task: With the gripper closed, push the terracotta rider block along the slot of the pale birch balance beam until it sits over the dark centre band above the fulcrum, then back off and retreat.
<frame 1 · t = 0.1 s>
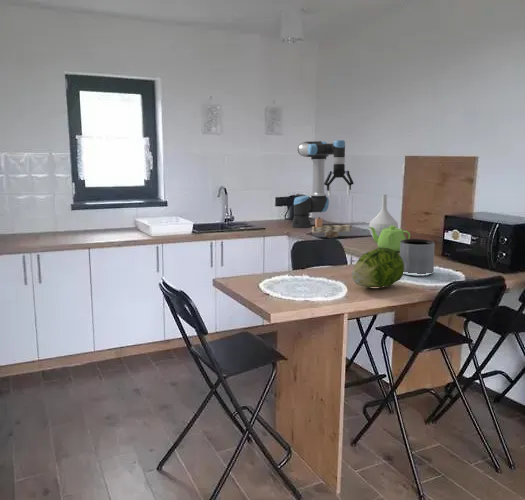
hand: (338, 195, 354), 28 cm above the countertop, fingers open, 13 cm apart
vase: (383, 240, 339), on the countertop
planter: (415, 273, 251), on the countertop
rider: (318, 222, 351), point 10 cm above the countertop, slide at 0.0 cm
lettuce: (375, 288, 226), on the countertop
teapot: (388, 249, 309), on the countertop
beam: (331, 237, 355), on the countertop
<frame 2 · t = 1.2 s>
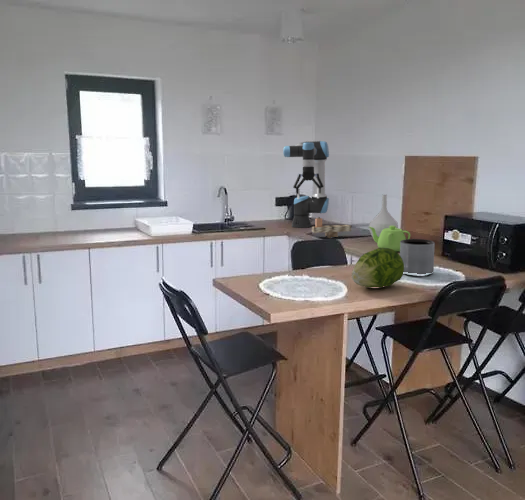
hand: (308, 198, 347), 27 cm above the countertop, fingers open, 13 cm apart
nothing on the countertop moved.
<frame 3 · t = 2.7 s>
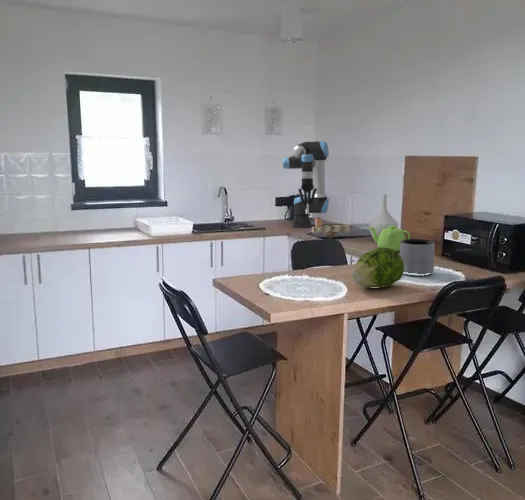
hand: (307, 213, 348), 17 cm above the countertop, fingers closed
nothing on the countertop moved.
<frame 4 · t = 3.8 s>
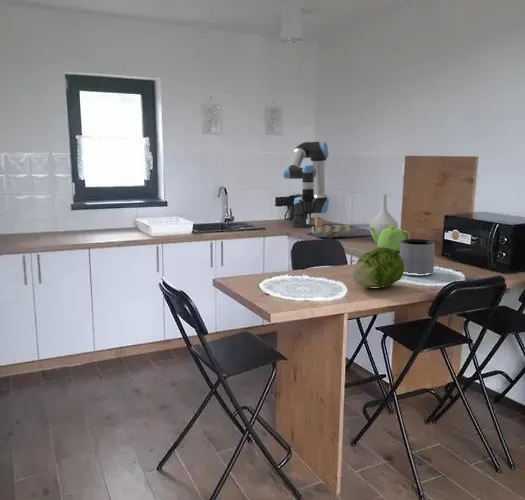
hand: (308, 223, 350), 10 cm above the countertop, fingers closed
nothing on the countertop moved.
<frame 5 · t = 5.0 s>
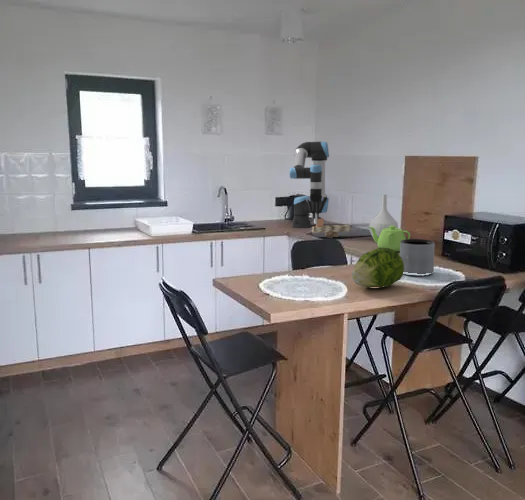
hand: (315, 223, 351), 10 cm above the countertop, fingers closed
rider: (319, 222, 351), point 10 cm above the countertop, slide at 0.7 cm, touching gripper
everything else where it was.
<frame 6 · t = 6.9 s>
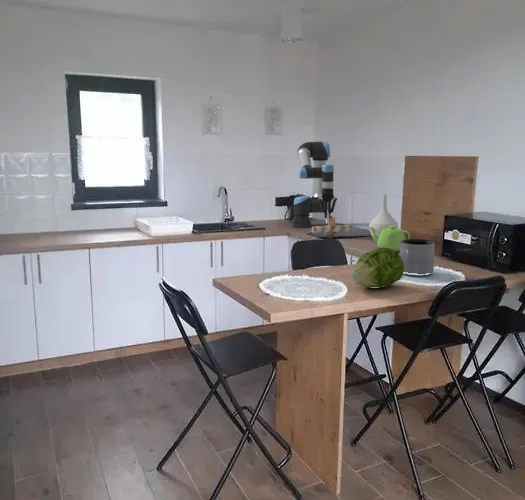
hand: (327, 222, 352), 10 cm above the countertop, fingers closed
rider: (331, 222, 353), point 10 cm above the countertop, slide at 9.0 cm, touching gripper
everything else where it was.
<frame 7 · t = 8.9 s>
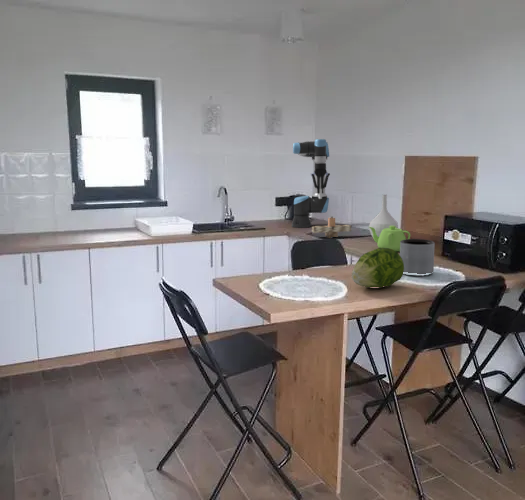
hand: (320, 198, 349), 27 cm above the countertop, fingers closed
rider: (331, 222, 353), point 10 cm above the countertop, slide at 9.0 cm
everything else where it was.
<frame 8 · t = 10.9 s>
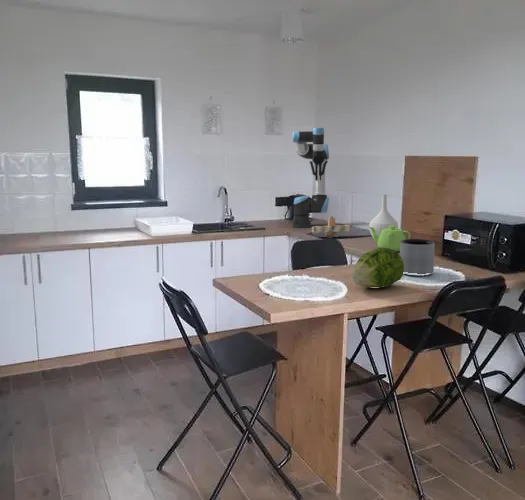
hand: (318, 185, 362), 34 cm above the countertop, fingers closed
nothing on the countertop moved.
at the end: rider slide at 9.0 cm; rider touching nothing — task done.
